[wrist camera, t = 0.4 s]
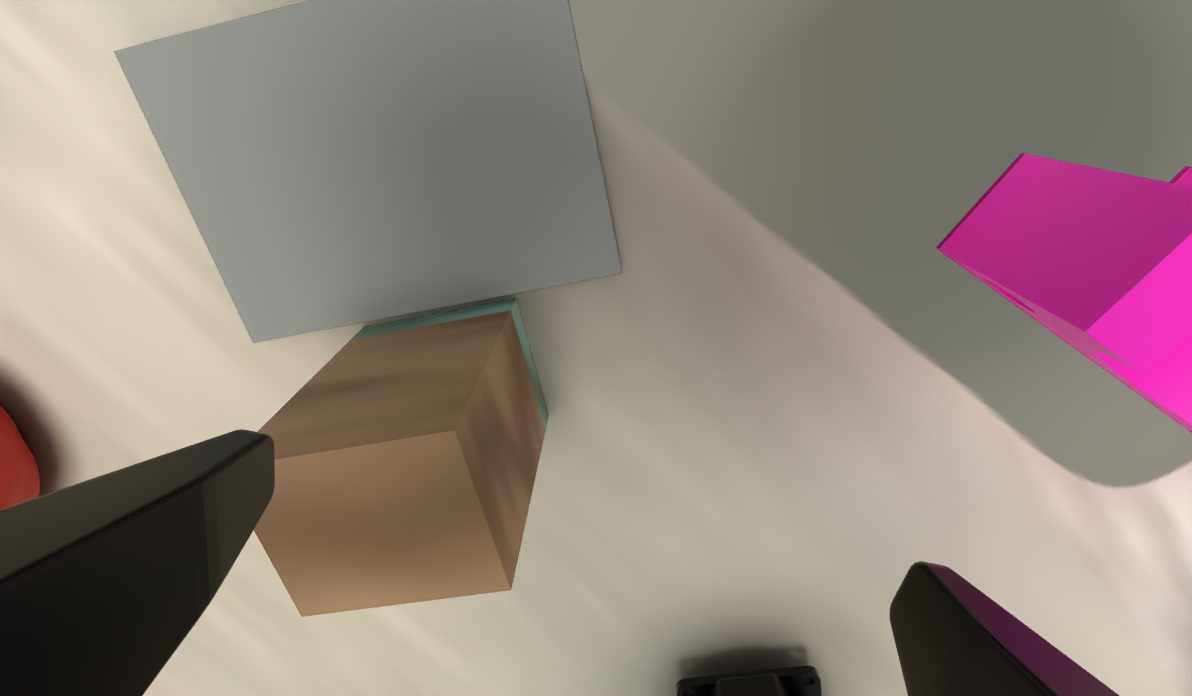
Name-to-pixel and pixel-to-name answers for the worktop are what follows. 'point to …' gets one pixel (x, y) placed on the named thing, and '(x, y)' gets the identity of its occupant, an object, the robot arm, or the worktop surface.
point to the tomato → (15, 465)
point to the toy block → (1093, 266)
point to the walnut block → (407, 464)
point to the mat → (381, 155)
